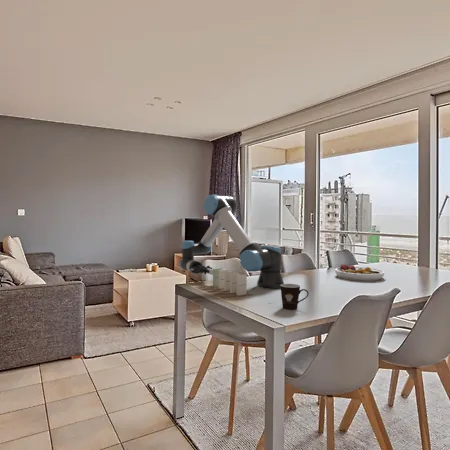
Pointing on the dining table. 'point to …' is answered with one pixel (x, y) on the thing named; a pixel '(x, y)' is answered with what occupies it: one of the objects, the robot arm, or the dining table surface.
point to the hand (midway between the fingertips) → (213, 272)
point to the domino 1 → (215, 276)
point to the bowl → (359, 273)
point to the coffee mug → (291, 296)
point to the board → (220, 292)
